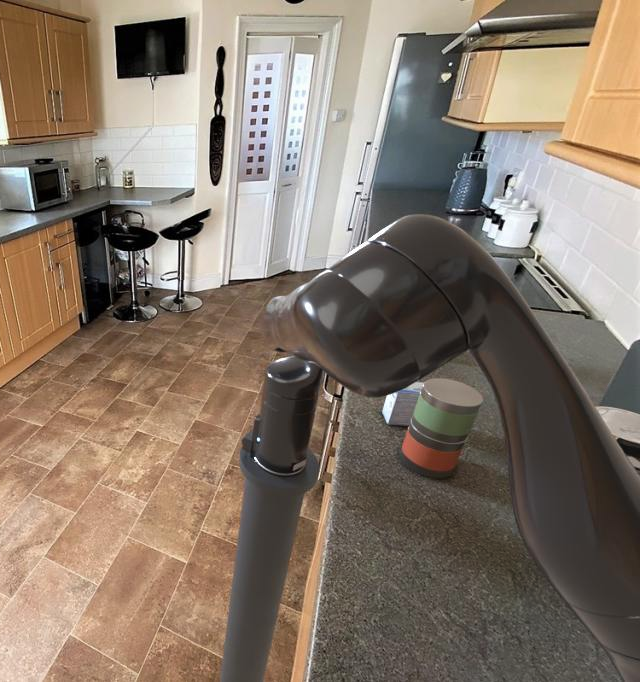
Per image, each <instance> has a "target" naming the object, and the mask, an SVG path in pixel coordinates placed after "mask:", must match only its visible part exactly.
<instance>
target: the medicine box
mask: <svg viewBox="0 0 640 682" xmlns="http://www.w3.org/2000/svg"><path fill="white" fill-rule="evenodd" d="M423 384H424V382H420V381H417V382H415V383H414V384H412V385H410V386H408V387H406V388H405V389H403V390H400V391H398V392H396V393H393V394H390V395H387V396H386V398H385V401H384V405H383V408H382V415H383V417H384V419H385V422H386V424H387V425H393V426H403V427H409V425H410V420H411V418H412V416H413V413H414V409H415V406H416V404H417V401H418V398H419V395H420V392H421V390H422V387H423Z"/></svg>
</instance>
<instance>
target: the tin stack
mask: <svg viewBox="0 0 640 682" xmlns="http://www.w3.org/2000/svg"><path fill="white" fill-rule="evenodd" d="M423 383H424V384H423V387H422V390H421V392H420V395H419V398H418V401H417V404H416V406H415V409H414V413H413V416H412V418H411V420H410V425H409V426H407V430H406V433H405V436H404V439H403V442H402V445H401V448H400V451H399V458H400V461H401V462H402V463H403V464H404V466H405V467H407V468H408V469H409V470H411V471H412V472H414V473H416V474H418V475H419V476H423V477H426V478H431V479H446V478H448V477H450V476H451V475H452V474H453V472H454V469H455V467H456V465H457V464H458V460H459V459H460V457H461V454H462V452H463V449H464V446H465V444H466V442H467V441H468V438H469V434H470V433H471V431H472V428H473V426H474V423H475V422H476V419H477V418H478V414H479V412H480V410H481V406H482V404H483V401H484V397H483V396H482V394H481V393H480V392H479V391H478V390H477V389H476V388H474V387H472V386H470V385H468V384H467V383H464V382H461V381H457V380H454V379H450V378H440V377H437V378H430V379H427V380H425V381H424V382H423Z"/></svg>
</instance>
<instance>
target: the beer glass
mask: <svg viewBox="0 0 640 682" xmlns="http://www.w3.org/2000/svg"><path fill="white" fill-rule="evenodd" d="M595 407H596V409H597V410H598V412H599V414H600V415H601V417H602V418H603V420H604V422H605V423H606V425H607V427H608V428H609V430H610V431H611V433H612V435H613V436H614V438H615V439H616V441H617V442H618V444H619V445H620V447H621V448H622V450H623V451H624V453H625V454H627V455H630V456H633V457H636V458H639V459H640V414H639V413H636V412H634V411H630V410H626V409H622V408H618V407H611V406H604V405H603V406H602V405H601V406H595Z"/></svg>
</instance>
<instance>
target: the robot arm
mask: <svg viewBox="0 0 640 682" xmlns="http://www.w3.org/2000/svg"><path fill="white" fill-rule="evenodd" d="M263 311H264V312H263V315H262V319H261V334H262V339H263V342H264V344H265V346H266V347H267V348H268V349H269V350H270V351H273V352H276V353H282V354H283V353H286V354H291V355H290V356H286V357H282V358H278V359H275V360H273V361H272V362H270V363H268V365H267V366H266V368H265V371H264V377H263V386H262V393H261V400H260V407H259V413H257V415H256V416H255V417H254V420H253V426H252V428H251V429H250V430H249V431H248V432H247V433H246V434H245V436H243V437H242V438H241V441H240V442H241V447H242V445H243V447H242V450H244V451H246V452H248V453H250V457H251V458H253V459H254V460H255V462H256V464H257V465H258V466H259V467H260V468H261V469H262V470H264V471H266V472H267V473H269V474H272V475H275V476H280V477H292V476H295V475H298V474H299V473H301V472H302V471H303V469H304V467H305V464H306V460H307V459H306V455H307V450H308V448H309V445H310V441H311V437H312V436H311V435H312V431H313V426H314V421H315V416H316V411H317V408H318V402H319V397H320V393H321V388H322V383H323V380H324V377H325V374H326V375H327V376H329V377H330V378H331V379H333V380H334V381H335V382H337V383H338V384H339V385H340V386H342V387H344V388H345V389H347V390H349V391H351V392H352V393H355V394H357V395H359V396H363V397H367V398H374V399H375V398H382V397H383V398H384V397H387V395H390V394H393V393H396V392H398V391H400V390H403V389H405V388H406V387H408V386H410V385H412V384H414V383H415V382H419V380H422V379H423V378H425V377H427V376H429V375H430V374H431V373H433V372H435V371H436V370H438V369H440V368H442V367H443V366H444V365H446V364H448V363H450V362H451V361H453V360H454V359H456V358H458V357H459V356H460V355H463V354H464V353H466V352H467V353H468V354H469V355H470V357H471V358H472V359H473V361H474V362H475V364H476V365H477V367H478V368H479V370H480V372H481V373H482V374H483V376H484V378H485V380H486V382H487V384H488V385H489V388H490V390H491V392H492V394H493V397H494V400H495V403H496V405H497V409H498V413H499V416H500V422H501V426H502V430H503V436H504V443H505V450H506V457H507V459H506V460H507V471H508V480H509V481H508V482H509V489H510V497H511V506H512V510H513V515H514V520H515V523H516V527H517V529H518V533H519V535H520V537H521V541H522V542H523V545H524V546H525V548H526V550H527V553H528V554H529V556H530V557H531V559H532V561H533V563H534V565H535V566H536V568H537V569H538V571H539V572H540V574H541V575H542V576H543V577H544V579H545V580H546V581H547V582H548V584H549V585H550V586H551V588H553V590H554V591H555V592H556V593H557V595H558V596H559V597H560V598H561V600H562V601H563V602H564V603H565V604H566V605H567V607H568V608H569V609H570V611H571V612H572V613H573V614H574V616H576V618H577V619H578V621H580V623H581V624H582V626H583V627H584V628H585V629H586V630H587V631H588V632H589V634H590V635H591V636H592V638H593V639H594V640H595V641H596V642H597V644H598V645H599V646H600V647H601V649H602V650H603V652H604V653H605V654H606V656H607V658H608V659H609V661H610V662H611V664H612V665H613V667H614V668H615V670H616V672H617V674H618V675H619V677H620V679H621V680H622V682H640V459H639V458H636V457H633V456H630V455H627V454H625V453H624V451H623V450H622V448H621V447H620V445H619V444H618V442H617V441H616V439H615V438H614V436H613V435H612V433H611V431H610V430H609V428H608V427H607V425H606V423H605V422H604V420H603V418H602V417H601V415H600V414H599V412H598V410H597V409H596V407H597V406H596V405H595V404H594V403H593V401H592V399H591V397H590V396H589V395H588V393H587V391H586V389H585V388H584V387H583V385H582V383H581V382H580V380H579V378H578V377H577V375H576V374H575V372H574V371H573V369H572V368H571V366H570V364H568V362H567V360H566V359H565V357H564V355H562V353H561V352H560V350H559V348H557V347H558V346H556V344H555V343H554V341H553V340H552V339H551V337H550V335H549V334H548V332H547V331H546V329H545V328H544V326H543V324H542V323H541V321H540V320H539V319H538V318H537V316H536V314H535V313H534V311H533V310H532V308H531V307H530V305H529V304H528V302H527V301H526V299H525V297H524V296H523V295H522V293H521V292H520V291H519V289H518V288H517V287H516V285H515V284H514V282H513V281H512V279H511V278H510V277H509V276H508V275H507V273H506V272H505V270H504V269H503V268H502V267H501V265H500V264H499V263H498V262H497V261H496V259H495V258H494V257H493V256H492V254H490V252H488V251H487V250H486V249H485V247H484V246H483V245H481V244H480V243H479V242H478V241H477V240H476V239H474V238H473V237H472V236H471V235H470V234H468V233H467V232H466V231H465V230H463V229H462V228H460V227H459V226H458V225H455V223H452V222H450V221H448V220H446V219H444V218H441V217H439V216H436V215H432V214H426V213H415V214H408V215H405V216H402V217H400V218H398V219H397V220H395V221H393V222H392V223H390V224H389V225H387V226H386V227H385V228H382V229H381V230H380V231H379V232H377V233H375V234H374V235H372V236H371V237H370V238H369V239H367V240H366V241H364V242H363V243H362V244H360V245H359V246H357V247H356V248H355V249H353V250H352V251H351V252H349V253H348V254H346V255H345V256H343V257H342V258H341V259H339V260H338V261H337V262H335V263H333V264H332V265H331V266H329V267H328V268H326V269H325V270H324V271H322V272H320V273H318V275H316V276H315V277H313V278H312V279H311V280H310V281H309V282H307V283H304V284H303V285H300V286H299V287H297V288H296V289H294V290H293V291H291V292H290V293H288V294H287V295H279V296H274V297H272V298H271V299H270V300H269V302H268V303H267V305H266V307H265V308H264V310H263Z"/></svg>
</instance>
